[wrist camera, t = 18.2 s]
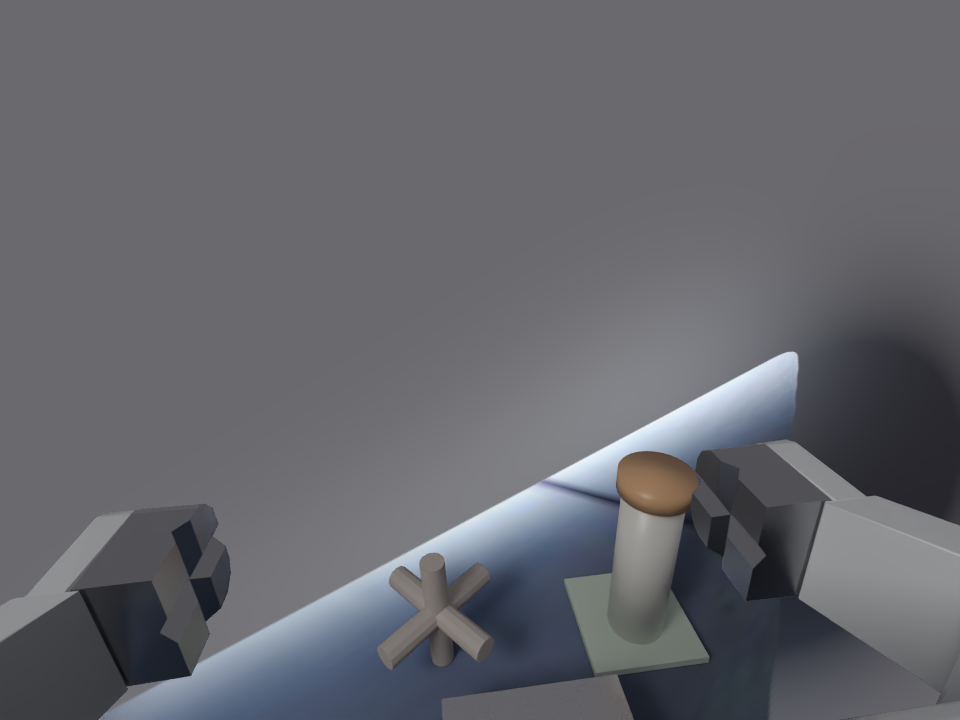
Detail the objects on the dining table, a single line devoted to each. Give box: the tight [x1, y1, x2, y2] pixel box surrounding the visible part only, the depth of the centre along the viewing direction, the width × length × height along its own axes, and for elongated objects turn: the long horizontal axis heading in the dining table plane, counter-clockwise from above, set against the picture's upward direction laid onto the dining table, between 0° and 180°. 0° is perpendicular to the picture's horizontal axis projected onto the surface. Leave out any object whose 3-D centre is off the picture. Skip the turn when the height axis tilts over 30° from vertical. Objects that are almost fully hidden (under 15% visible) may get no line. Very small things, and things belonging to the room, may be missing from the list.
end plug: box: [607, 451, 698, 645], centre depth 38 cm, size 5×5×15 cm
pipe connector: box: [377, 553, 494, 670], centre depth 38 cm, size 10×10×10 cm
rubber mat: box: [564, 573, 710, 677], centre depth 42 cm, size 9×9×1 cm
